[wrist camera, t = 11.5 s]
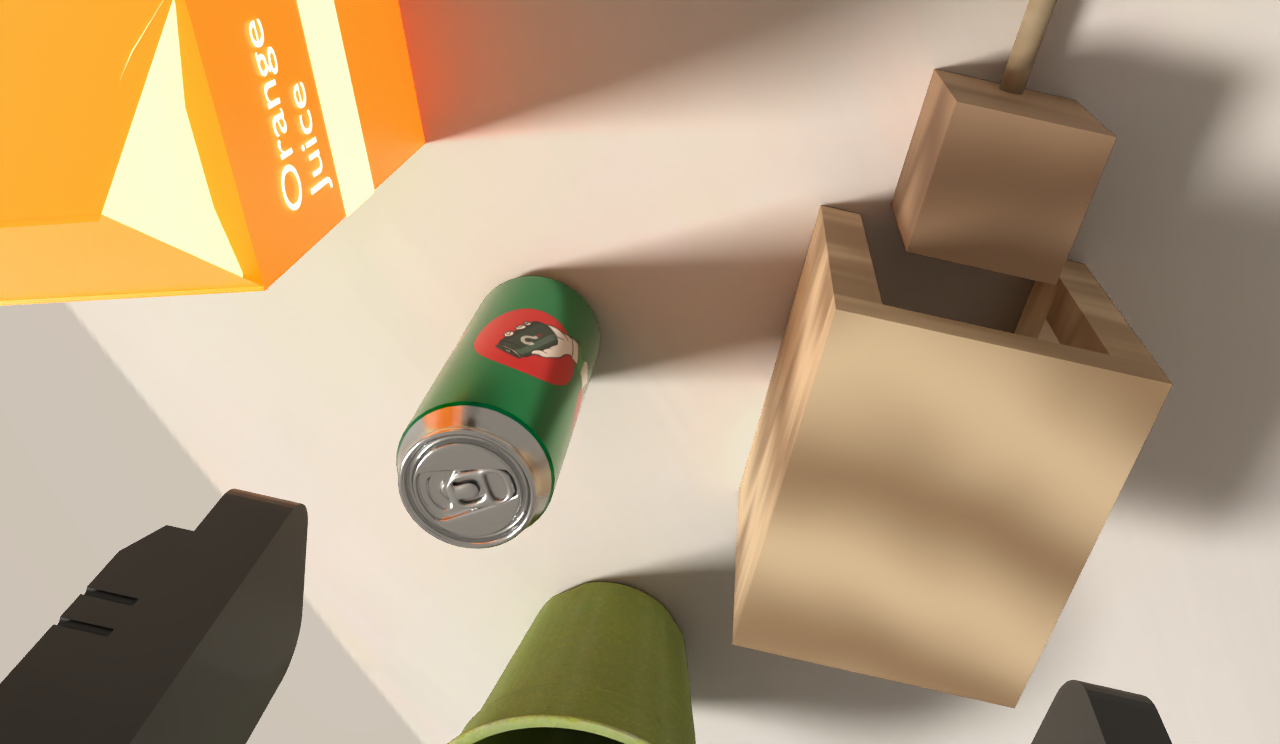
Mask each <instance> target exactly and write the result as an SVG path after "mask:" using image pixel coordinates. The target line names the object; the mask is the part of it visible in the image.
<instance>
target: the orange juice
mask: <svg viewBox="0 0 1280 744" xmlns="http://www.w3.org/2000/svg"><path fill="white" fill-rule="evenodd" d="M424 144H425V139H424V134H423V128H422V123H421V118H420V113H419V107H418V102H417V97H416V92H415V86H414V81H413V76H412V71H411V65H410V60H409V55H408V50H407V44H406V39H405V34H404V29H403V23H402V18H401V13H400V8H399V2H398V0H0V306H2V305H20V304H36V303H56V302H73V301H91V300H109V299H126V298H144V297H162V296H179V295H197V294H215V293H233V292H250V291H265V290H266V289H267V288H268V287H269V286H270V285H272V284H273V283H274V282H275V281H276V280H277V279H278V278H279V277H280V276H281V275H282V274H284V273H285V272H286V271H287V270H288V269H289V268H290V267H291V266H292V265H293V264H294V263H296V262H297V261H298V260H299V259H300V258H301V257H302V256H303V255H304V254H305V253H306V252H307V251H309V250H310V249H311V248H312V247H313V246H314V245H315V244H316V243H317V242H318V241H319V240H321V239H322V238H323V237H324V236H325V235H326V234H327V233H328V232H329V231H330V230H331V229H332V228H334V227H335V226H336V225H337V224H338V223H339V222H340V221H341V220H342V219H343V218H344V217H348V216H349V215H350V214H352V213H353V212H354V211H355V210H356V209H357V208H358V207H359V206H360V205H361V204H362V203H363V202H364V201H366V200H367V199H368V198H369V197H370V196H371V195H372V194H373V193H374V192H375V189H376V188H377V187H378V186H379V185H380V184H381V183H383V182H384V181H385V180H386V179H387V178H388V177H389V176H390V175H391V174H392V173H393V172H395V171H396V170H397V169H398V168H399V167H400V166H401V165H402V164H403V163H404V162H405V161H406V160H408V159H409V158H410V157H411V156H412V155H413V154H414V153H415V152H416V151H417V150H418V149H420V148H421V147H422V146H423V145H424Z"/></svg>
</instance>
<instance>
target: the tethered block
mask: <svg viewBox="0 0 1280 744" xmlns="http://www.w3.org/2000/svg"><path fill="white" fill-rule="evenodd" d="M1055 3H1056V0H1030V1H1029V3H1028V6H1027V9H1026V12H1025V15H1024V18H1023V21H1022V23H1021V26H1020V29H1019V32H1018V35H1017V38H1016V40H1015V43H1014V46H1013V49H1012V52H1011V55H1010V58H1009V60H1008V63H1007V66H1006V69H1005V72H1004V75H1003V77H1002V80H1001V83H995V82H991V81H986V80H982V79H977V78H973V77H969V76H964V75H960V74H955V73H951V72H946V71H942V70H937V69H934V72H933V75H932V78H931V81H930V84H929V87H928V90H927V94H926V97H925V100H924V103H923V106H922V109H921V112H920V115H919V118H918V122H917V125H916V128H915V131H914V134H913V137H912V140H911V143H910V147H909V150H908V153H907V156H906V159H905V162H904V165H903V168H902V172H901V175H900V178H899V181H898V184H897V187H896V190H895V193H894V196H893V200H892V203H891V205H892V209H893V212H894V215H895V218H896V221H897V224H898V227H899V230H900V233H901V236H902V239H903V242H904V246H905V249H906V252H910V253H915V254H919V255H923V256H928V257H932V258H937V259H941V260H946V261H950V262H955V263H959V264H964V265H968V266H972V267H977V268H981V269H986V270H990V271H995V272H999V273H1004V274H1008V275H1013V276H1017V277H1021V278H1026V279H1030V280H1035V281H1039V282H1044V283H1048V284H1053V285H1056V284H1057V282H1058V279H1059V277H1060V274H1061V272H1062V269H1063V267H1064V264H1065V262H1066V260H1067V257H1068V255H1069V252H1070V250H1071V247H1072V245H1073V243H1074V240H1075V238H1076V235H1077V233H1078V230H1079V228H1080V226H1081V223H1082V221H1083V218H1084V216H1085V213H1086V211H1087V209H1088V206H1089V204H1090V201H1091V199H1092V196H1093V194H1094V192H1095V189H1096V187H1097V184H1098V182H1099V179H1100V177H1101V175H1102V172H1103V170H1104V167H1105V165H1106V162H1107V160H1108V158H1109V155H1110V153H1111V150H1112V148H1113V145H1114V143H1115V141H1116V138H1117V137H1116V136H1115V135H1114V134H1113V133H1111V132H1110V131H1109V130H1108V129H1107V128H1106V127H1105V126H1104V125H1102V124H1101V123H1100V122H1099V121H1098V120H1097V119H1096V118H1095V117H1093V116H1092V115H1091V114H1090V113H1089V112H1088V111H1087V110H1086V109H1084V108H1083V107H1082V106H1081V105H1080V104H1079V103H1078V102H1077V101H1075V100H1071V99H1067V98H1062V97H1058V96H1054V95H1049V94H1045V93H1040V92H1036V91H1031V90H1027V89H1024V88H1025V86H1026V83H1027V80H1028V77H1029V75H1030V72H1031V69H1032V66H1033V64H1034V61H1035V58H1036V55H1037V52H1038V50H1039V47H1040V44H1041V41H1042V39H1043V36H1044V33H1045V30H1046V28H1047V25H1048V22H1049V19H1050V17H1051V14H1052V11H1053V8H1054V6H1055Z"/></svg>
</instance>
